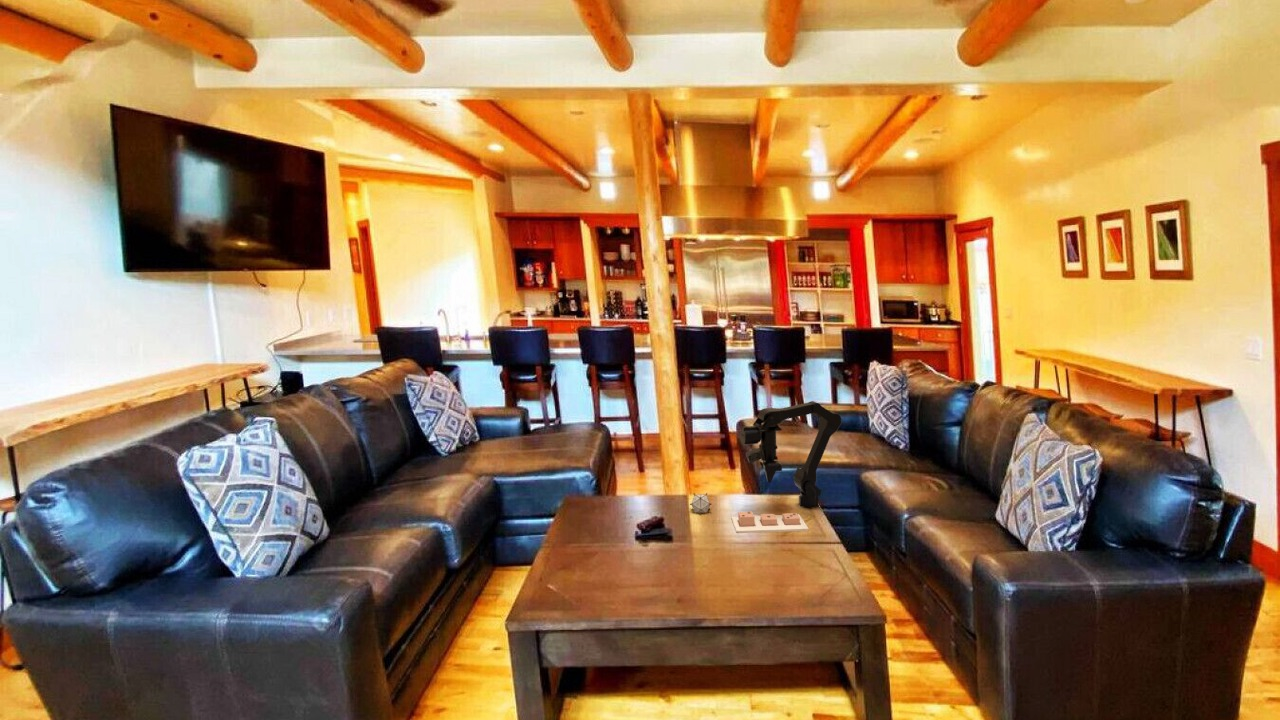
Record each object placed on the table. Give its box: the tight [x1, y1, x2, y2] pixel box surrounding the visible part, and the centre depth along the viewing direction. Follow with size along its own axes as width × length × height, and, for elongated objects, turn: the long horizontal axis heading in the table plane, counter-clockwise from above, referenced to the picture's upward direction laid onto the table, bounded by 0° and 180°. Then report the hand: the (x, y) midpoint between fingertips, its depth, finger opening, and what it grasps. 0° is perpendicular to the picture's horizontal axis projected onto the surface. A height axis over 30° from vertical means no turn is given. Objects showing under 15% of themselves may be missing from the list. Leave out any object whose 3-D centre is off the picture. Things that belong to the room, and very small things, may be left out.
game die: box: [689, 492, 713, 514], centre depth 231 cm, size 9×8×10 cm
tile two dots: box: [737, 511, 755, 527], centre depth 216 cm, size 5×5×4 cm
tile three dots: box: [782, 512, 800, 525], centre depth 216 cm, size 5×5×4 cm
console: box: [730, 513, 810, 534], centre depth 216 cm, size 25×13×2 cm, turn 89°
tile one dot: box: [759, 513, 777, 526], centre depth 216 cm, size 5×5×4 cm
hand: (769, 482), depth 229 cm, fingers closed
